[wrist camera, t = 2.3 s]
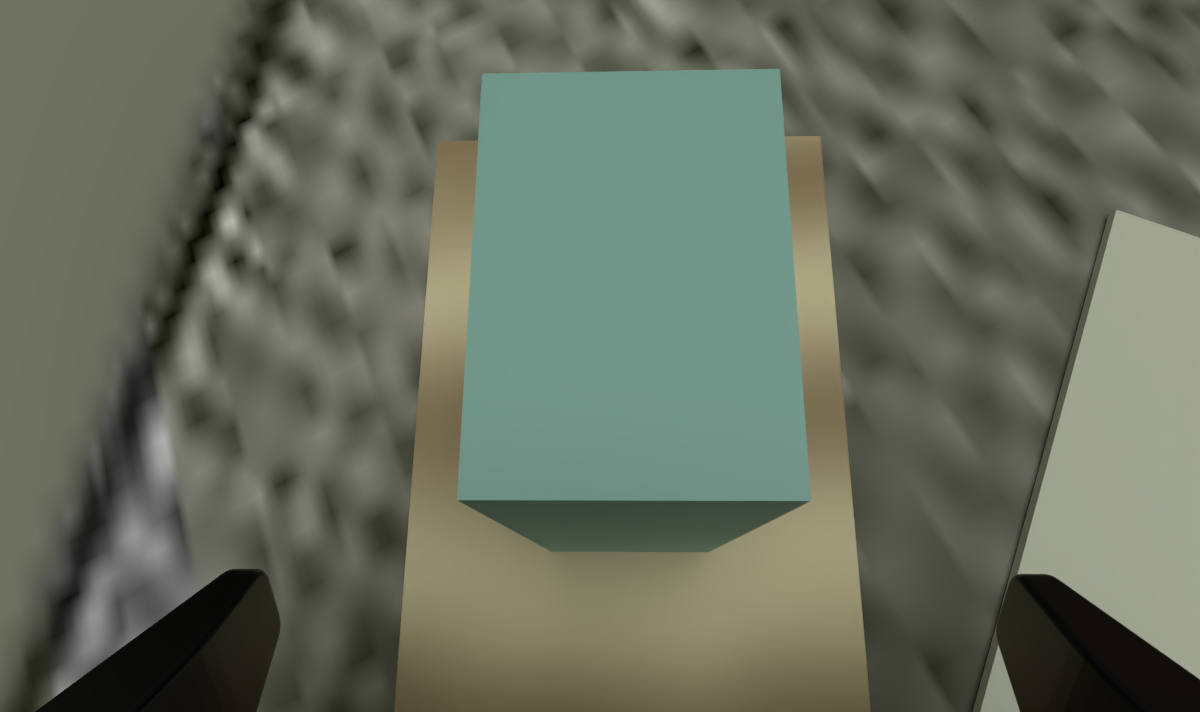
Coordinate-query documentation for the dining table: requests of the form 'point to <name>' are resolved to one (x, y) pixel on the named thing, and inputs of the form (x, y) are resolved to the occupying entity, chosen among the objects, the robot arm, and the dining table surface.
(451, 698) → the plate
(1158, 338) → the mat
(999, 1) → the dining table surface
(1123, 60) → the dining table surface
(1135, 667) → the robot arm
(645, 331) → the tall teal block
